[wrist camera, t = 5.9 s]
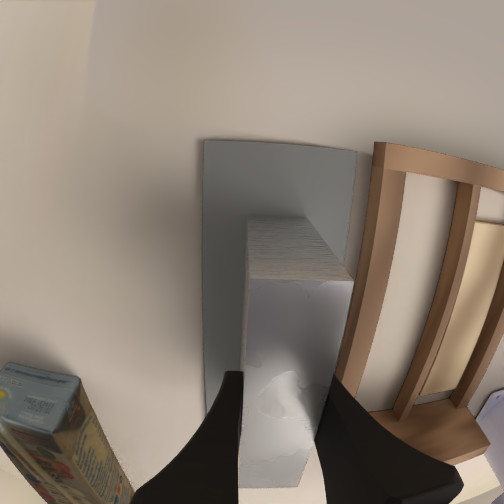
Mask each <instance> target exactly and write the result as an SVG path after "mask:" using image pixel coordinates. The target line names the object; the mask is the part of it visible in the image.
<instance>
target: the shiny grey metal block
mask: <svg viewBox="0 0 504 504" xmlns="http://www.w3.org/2000/svg"><path fill="white" fill-rule="evenodd" d="M353 285H354V280H353V279H352V277H351V276H350V275H349V273H348V272H347V270H346V269H345V268H344V266H343V265H342V264H341V262H340V261H339V259H338V258H337V257H336V255H335V254H334V253H333V251H332V250H331V249H330V247H329V246H328V245H327V243H326V242H325V241H324V239H323V238H322V237H321V235H320V234H319V233H318V231H317V230H316V229H315V228H314V226H313V225H312V224H311V222H310V221H309V220H308V218H300V217H282V216H262V215H247V227H246V248H245V269H244V290H243V312H242V335H241V358H240V371H243V403H242V422H241V437H240V446H239V488H286V487H298V485H299V482H300V479H301V477H302V474H303V471H304V468H305V466H306V463H307V460H308V457H309V454H310V451H311V448H312V445H313V442H314V439H315V436H316V432H317V429H318V426H319V423H320V420H321V416H322V413H323V410H324V406H325V403H326V399H327V396H328V392H329V388H330V385H331V381H332V377H333V374H334V370H335V366H336V362H337V358H338V354H339V350H340V346H341V341H342V337H343V333H344V328H345V324H346V319H347V314H348V310H349V305H350V300H351V295H352V290H353Z"/></svg>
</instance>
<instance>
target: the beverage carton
mask: <svg viewBox="0 0 504 504" xmlns="http://www.w3.org/2000/svg"><path fill="white" fill-rule="evenodd" d="M0 446H1V448H2V449H3V450H4V452H5V453H6V455H7V456H8V457H9V459H10V460H11V461H12V463H13V464H14V465H15V466H16V468H17V469H18V470H19V471H20V473H21V474H22V475H23V476H24V478H25V479H26V480H27V481H28V482H29V484H30V485H31V486H32V487H33V488H34V489H35V490H36V491H37V492H38V494H39V495H40V496H41V497H42V498H43V499H44V500H45V501H46V502H47V503H48V504H129V503H130V501H131V499H132V497H133V496H134V494H135V492H134V490H133V489H132V487H131V485H130V483H129V481H128V480H127V478H126V476H125V474H124V472H123V471H122V469H121V467H120V465H119V463H118V461H117V459H116V457H115V455H114V453H113V451H112V449H111V447H110V445H109V443H108V441H107V439H106V437H105V435H104V433H103V430H102V428H101V426H100V424H99V422H98V419H97V417H96V414H95V412H94V410H93V408H92V406H91V404H90V402H89V400H88V397H87V395H86V392H85V390H84V388H83V385H82V382H81V379H80V378H79V377H76V376H69V375H63V374H57V373H52V372H47V371H43V370H38V369H34V368H30V367H25V366H21V365H18V364H13V363H7V364H6V365H5V366H4V367H3V369H2V370H1V371H0Z"/></svg>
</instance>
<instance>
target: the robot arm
mask: <svg viewBox="0 0 504 504" xmlns="http://www.w3.org/2000/svg"><path fill="white" fill-rule="evenodd" d="M242 403H243V371H226V372H225V373H224V378H223V381H222V384H221V387H220V389H219V392H218V394H217V396H216V398H215V401H214V403H213V405H212V407H211V409H210V410H209V412H208V414H207V415H206V417H205V419H204V420H203V422H202V424H201V425H200V427H199V428H198V430H197V431H196V433H195V434H194V435H193V437H192V438H191V439H190V441H189V442H188V443H187V444H186V445H185V447H184V448H183V449H182V450H181V451H180V452H179V454H178V455H177V456H176V457H175V458H174V459H173V460H172V461H171V462H170V463H169V464H168V465H167V466H166V467H165V468H163V469H162V470H161V471H160V472H159V473H158V474H157V475H156V476H154V477H153V478H152V479H151V480H149V481H148V482H147V483H145V484H144V485H143V486H141V487H140V488H139V489H137V490H136V492H135V494H134V496H133V497H132V499H131V501H130V503H129V504H238V455H239V446H240V437H241V422H242ZM476 421H477V423H478V424H479V426H480V427H481V429H482V431H483V432H484V434H485V435H486V437H487V438H488V440H489V442H490V443H491V445H490V446H489V447H488V449H487V450H486V451H485V453H484V456H485V457H486V459H487V461H488V462H489V464H490V466H491V468H492V470H493V471H494V473H495V475H496V477H497V478H498V480H499V482H500V484H501V486H502V488H503V489H504V390H501V391H498V392H494V393H493V394H491V395H490V397H489V398H488V400H487V402H486V404H485V405H484V407H483V408H482V410H481V412H480V413H479V415H478V416H477V418H476ZM314 442H315V445H316V449H317V453H318V457H319V460H320V464H321V468H322V472H323V477H324V484H325V491H326V500H327V504H449V503H450V502H451V501H452V500H453V499H454V498H455V497H456V496H457V495H458V494H459V493H460V492H461V490H462V488H463V486H464V484H463V481H462V479H461V477H460V475H459V473H458V471H457V469H456V468H455V466H453V465H450V464H448V463H445V462H442V461H440V460H437V459H435V458H432V457H430V456H428V455H426V454H424V453H422V452H420V451H419V450H417V449H415V448H413V447H411V446H410V445H408V444H407V443H405V442H404V441H402V440H400V439H399V438H398V437H396V436H395V435H393V434H392V433H391V432H389V431H388V430H387V429H386V428H384V427H383V426H382V425H381V424H380V423H378V422H377V421H376V420H375V419H374V418H373V417H372V416H371V415H370V414H369V413H368V412H367V411H366V410H365V409H364V408H363V407H362V406H361V405H360V404H359V403H358V402H357V401H356V399H355V398H354V397H353V396H352V395H351V394H350V393H349V391H348V390H347V389H346V388H345V387H344V386H343V384H342V383H341V382H340V381H339V379H338V378H337V377H336V376H335V374H333V377H332V381H331V385H330V388H329V392H328V396H327V399H326V403H325V406H324V410H323V413H322V416H321V420H320V423H319V426H318V429H317V432H316V436H315V439H314ZM492 504H504V493H503V494H501V495H500V496H499V497H497V498H496V499H495V500H494V501H493V502H492Z"/></svg>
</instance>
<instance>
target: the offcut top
mask: <svg viewBox="0 0 504 504" xmlns="http://www.w3.org/2000/svg"><path fill="white" fill-rule="evenodd" d="M503 260H504V224H497V223H489V222H481V221H475V225H474V230H473V234H472V239H471V244H470V248H469V252H468V256H467V260H466V264H465V268H464V272H463V276H462V279H461V283H460V286H459V290H458V293H457V296H456V299H455V303H454V306H453V309H452V312H451V315H450V318H449V321H448V324H447V326H446V329H445V332H444V335H443V337H442V340H441V343H440V345H439V348H438V350H437V353H436V355H435V358H434V360H433V363H432V365H431V367H430V370H429V372H428V374H427V377H426V379H425V381H424V383H423V386H422V388H421V390H420V392H419V396H424V395H429V394H434V393H438V392H443V391H448V390H452V389H456V387H457V385H458V383H459V381H460V379H461V377H462V374H463V372H464V370H465V368H466V366H467V364H468V361H469V359H470V357H471V354H472V352H473V350H474V347H475V345H476V342H477V340H478V337H479V335H480V332H481V330H482V327H483V324H484V322H485V319H486V316H487V313H488V310H489V307H490V304H491V301H492V298H493V295H494V292H495V289H496V285H497V282H498V279H499V275H500V271H501V268H502V264H503Z"/></svg>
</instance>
